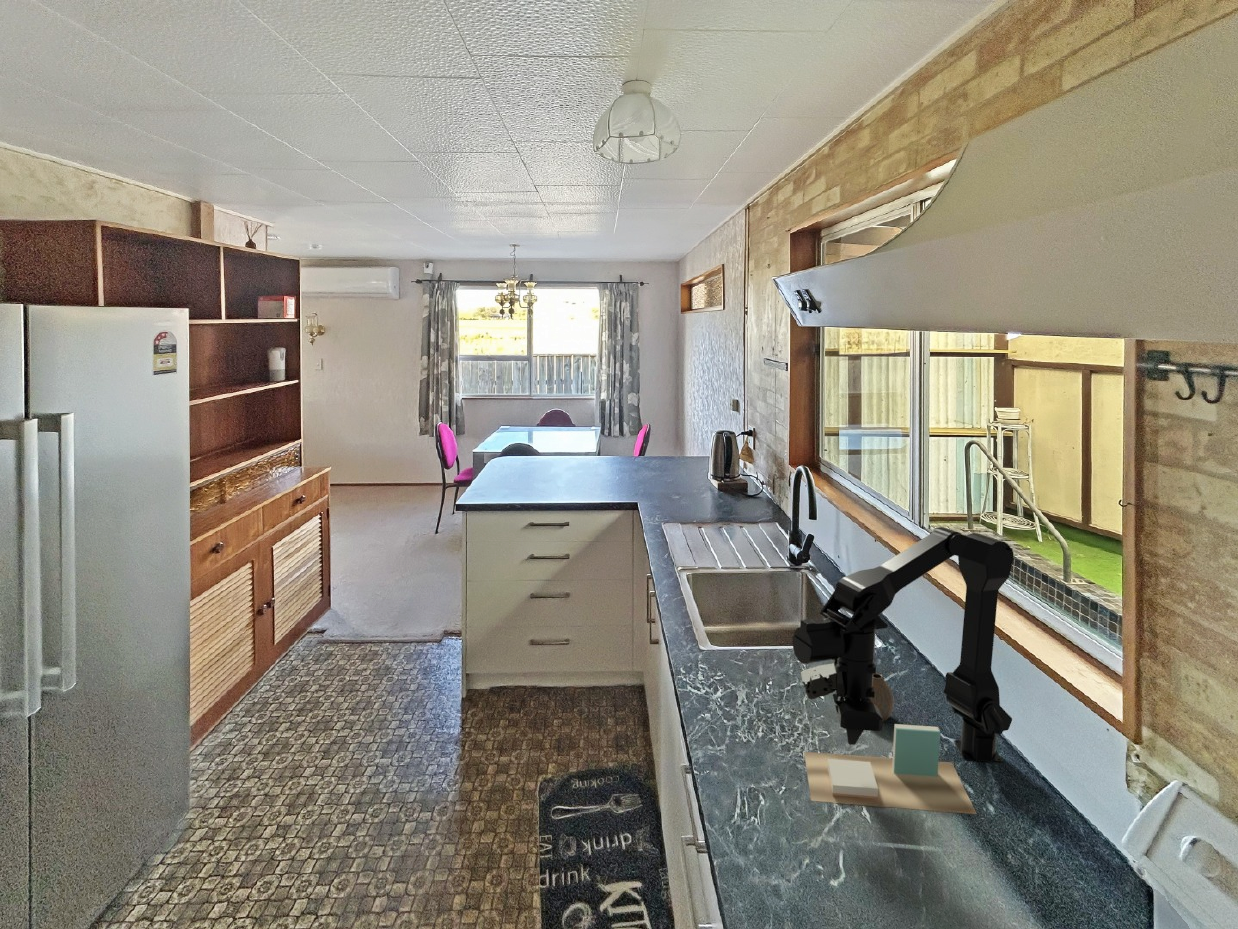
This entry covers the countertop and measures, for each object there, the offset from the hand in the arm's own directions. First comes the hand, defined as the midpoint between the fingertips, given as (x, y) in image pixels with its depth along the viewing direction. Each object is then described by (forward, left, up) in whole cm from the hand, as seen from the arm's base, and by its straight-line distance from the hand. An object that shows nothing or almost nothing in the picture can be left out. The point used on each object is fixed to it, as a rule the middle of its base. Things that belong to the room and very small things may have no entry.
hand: (851, 743), depth 132 cm
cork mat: (0, +6, -7) cm, 9 cm away
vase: (-23, +8, -7) cm, 25 cm away
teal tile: (-3, +11, -6) cm, 13 cm away
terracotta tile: (-2, 0, -5) cm, 6 cm away
